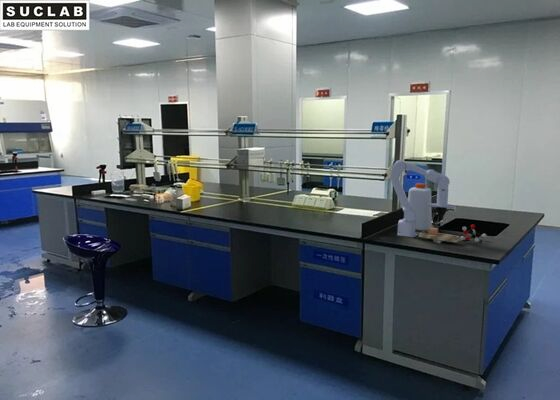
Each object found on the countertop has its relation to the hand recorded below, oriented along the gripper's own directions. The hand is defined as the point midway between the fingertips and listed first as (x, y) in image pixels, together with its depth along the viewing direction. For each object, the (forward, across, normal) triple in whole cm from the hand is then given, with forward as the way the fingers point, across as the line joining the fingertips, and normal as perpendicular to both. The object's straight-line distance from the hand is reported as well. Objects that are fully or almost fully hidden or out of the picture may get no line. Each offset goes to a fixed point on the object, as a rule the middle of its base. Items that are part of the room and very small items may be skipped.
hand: (440, 220), depth 242 cm
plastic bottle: (+10, -18, +16) cm, 26 cm away
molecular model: (+10, +16, +4) cm, 20 cm away
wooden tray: (+10, +2, -9) cm, 14 cm away
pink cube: (+7, -1, -9) cm, 11 cm away
